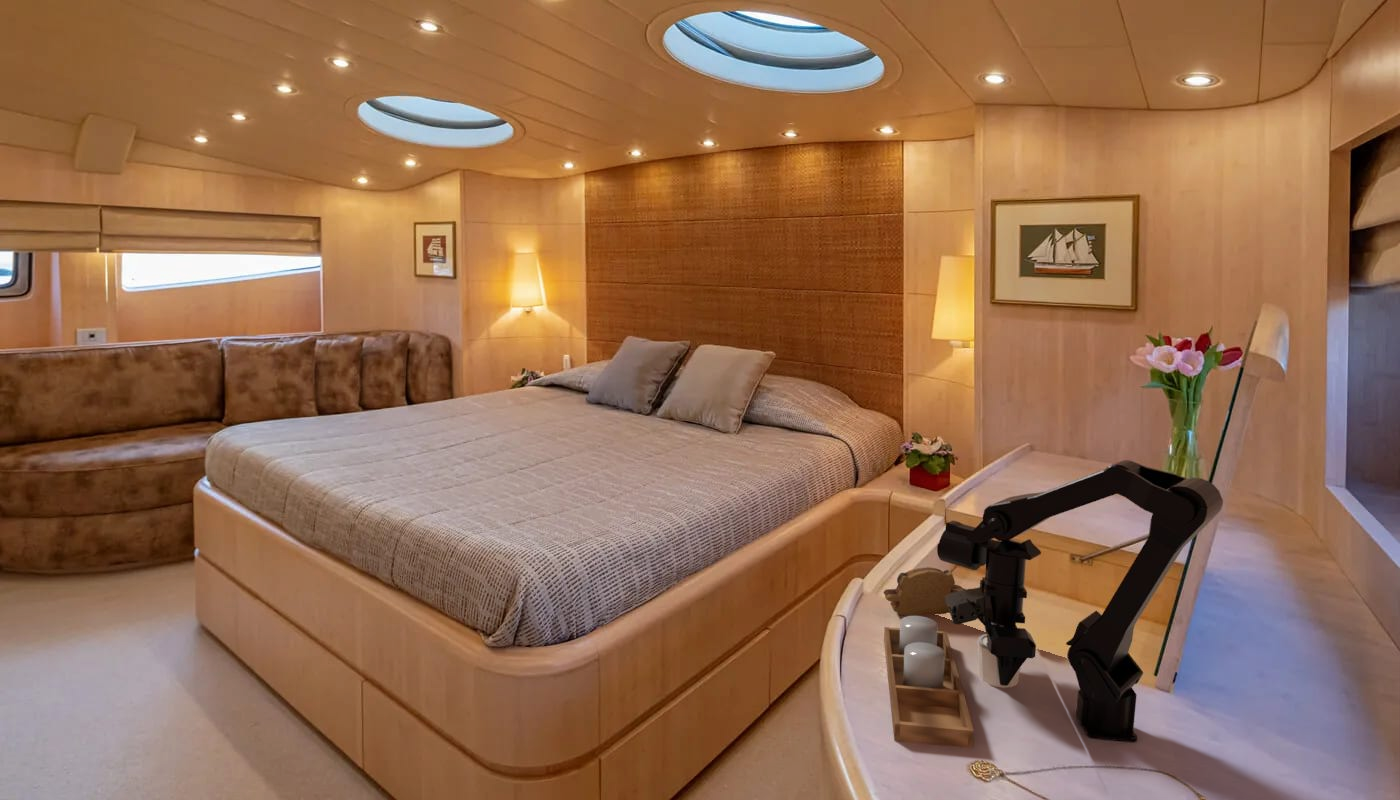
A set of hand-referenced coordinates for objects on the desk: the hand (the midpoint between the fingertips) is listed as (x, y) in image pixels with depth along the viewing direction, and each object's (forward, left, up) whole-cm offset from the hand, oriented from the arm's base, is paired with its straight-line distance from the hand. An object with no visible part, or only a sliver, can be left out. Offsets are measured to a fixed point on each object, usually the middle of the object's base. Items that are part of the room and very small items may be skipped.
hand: (998, 671), depth 125 cm
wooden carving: (+9, -23, -2) cm, 25 cm away
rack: (+12, +5, -2) cm, 13 cm away
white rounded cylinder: (+12, +5, -1) cm, 13 cm away
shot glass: (0, 0, -2) cm, 2 cm away
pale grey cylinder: (+12, -5, -1) cm, 13 cm away
